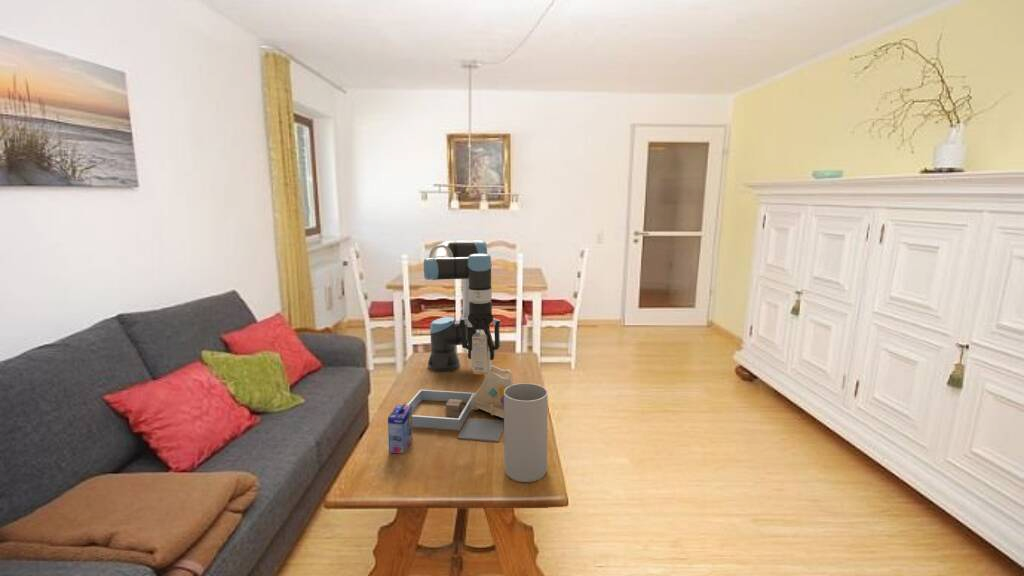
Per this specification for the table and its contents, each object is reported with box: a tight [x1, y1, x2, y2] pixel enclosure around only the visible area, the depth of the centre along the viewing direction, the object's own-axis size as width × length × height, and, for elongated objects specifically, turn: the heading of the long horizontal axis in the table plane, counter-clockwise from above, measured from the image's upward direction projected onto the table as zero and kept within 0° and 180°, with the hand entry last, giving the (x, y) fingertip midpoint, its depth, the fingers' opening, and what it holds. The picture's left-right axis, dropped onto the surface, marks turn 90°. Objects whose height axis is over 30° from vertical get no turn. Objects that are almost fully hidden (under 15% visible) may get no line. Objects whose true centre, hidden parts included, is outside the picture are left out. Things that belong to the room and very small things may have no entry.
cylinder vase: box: [503, 382, 549, 483], centre depth 135 cm, size 12×12×25 cm
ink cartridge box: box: [387, 402, 413, 454], centre depth 150 cm, size 10×6×14 cm, turn 177°
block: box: [445, 399, 464, 418], centre depth 173 cm, size 5×5×5 cm
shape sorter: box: [472, 364, 514, 419], centre depth 172 cm, size 20×10×18 cm, turn 47°
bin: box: [406, 389, 476, 431], centre depth 174 cm, size 23×23×4 cm
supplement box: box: [472, 330, 489, 375], centre depth 156 cm, size 8×5×13 cm, turn 174°
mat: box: [457, 417, 504, 443], centre depth 161 cm, size 14×14×1 cm
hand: (481, 368), depth 157 cm, fingers closed on supplement box, 5 cm apart
